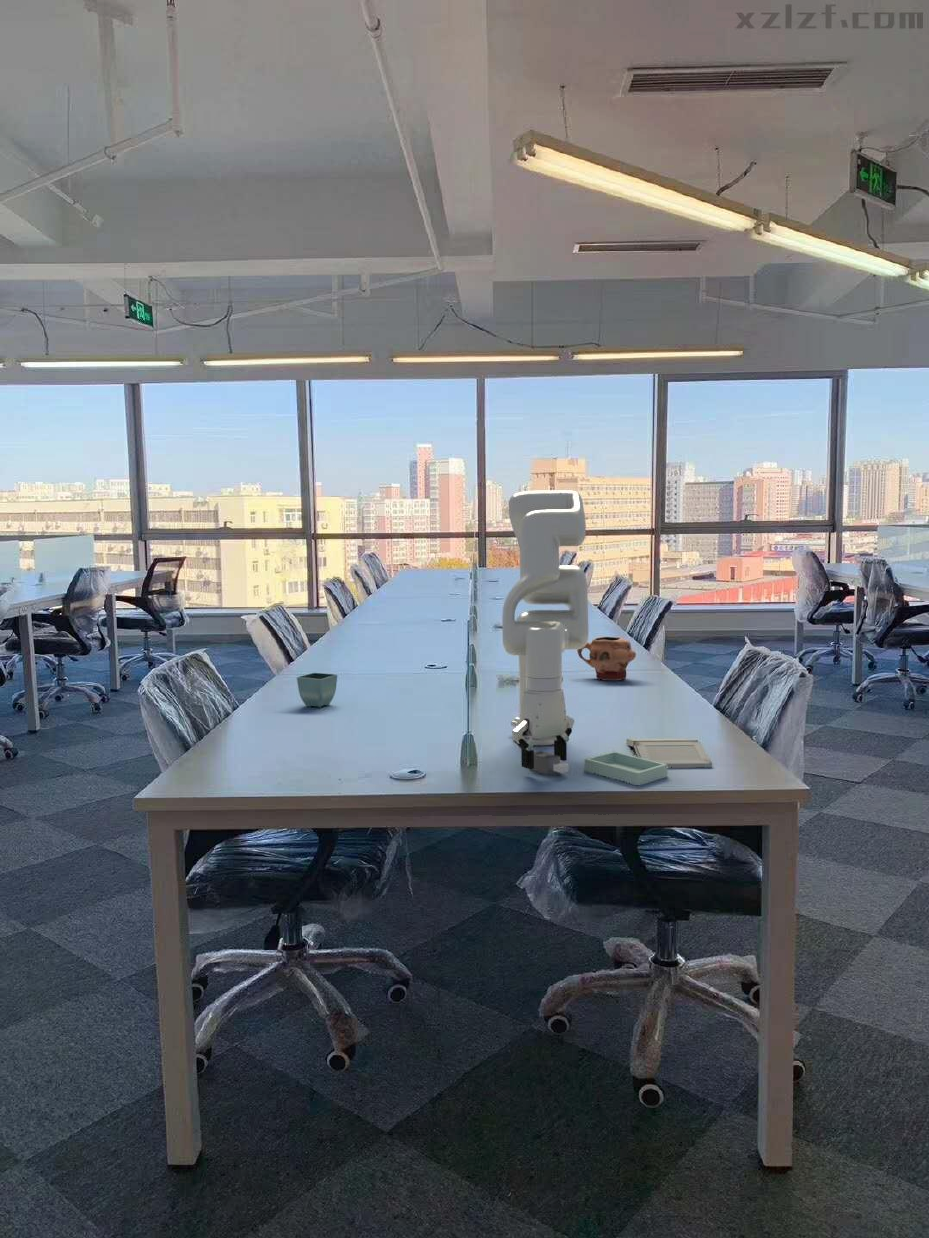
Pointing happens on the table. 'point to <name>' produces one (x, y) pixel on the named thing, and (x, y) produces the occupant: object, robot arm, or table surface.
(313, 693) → the flower pot
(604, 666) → the sculpted clay mug
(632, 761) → the tray
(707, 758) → the gadget
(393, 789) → the table surface
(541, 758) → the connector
